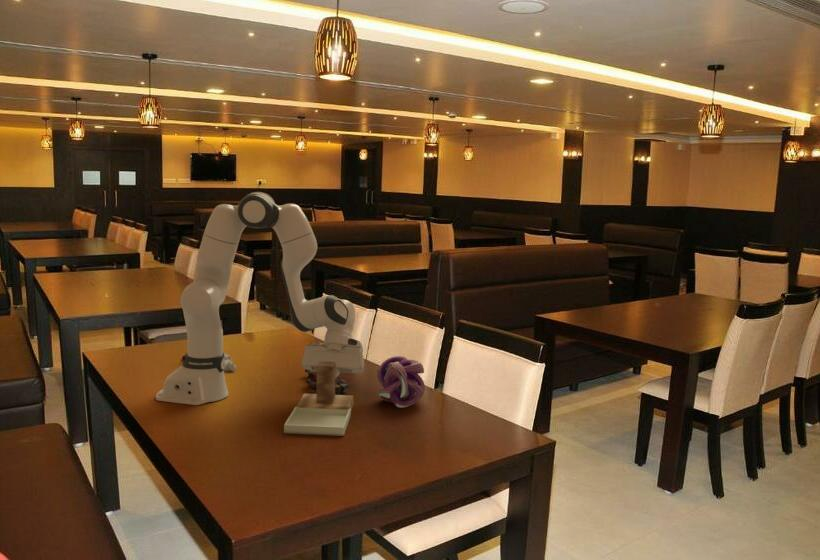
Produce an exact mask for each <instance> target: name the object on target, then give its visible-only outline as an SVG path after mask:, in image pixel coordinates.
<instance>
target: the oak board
mask: <svg viewBox="0 0 820 560" xmlns="http://www.w3.org/2000/svg"><path fill="white" fill-rule="evenodd" d="M316 395H317V393H304V394H303V395H302V397H301V398H300V400H299V401H298V403H297V407H300V408H322V409H344V410H349V409H351V411H352V409H353V406H354V395H347V394H346V395H345V394H340V395H336V394H335V399H334V402H333V404H323V403H316Z"/></svg>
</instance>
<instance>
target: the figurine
mask: <svg viewBox="0 0 820 560" xmlns="http://www.w3.org/2000/svg"><path fill="white" fill-rule="evenodd" d="M304 371H305V373H306V374H307V378H306V384H309V385H310V386H311V387H312V388H314V390H315V391H316V392H317V370H305V369H304ZM337 377H338V378H335V395H341V394H342V393H344V392H346V391H347V390H348V389H349V388H350V386H349V384H348V382H347V381H346V380H344V379H343V378H342V375H341V376H340V375H338V376H337Z"/></svg>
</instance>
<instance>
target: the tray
mask: <svg viewBox="0 0 820 560" xmlns="http://www.w3.org/2000/svg"><path fill="white" fill-rule="evenodd" d="M351 415H352V410H351V409H349V410H344V409H322V408H300V407H298V405H297V406H294V408H293V410H292V411H291V413H290V415H289V416H288V418H287V419H286V421H285V423H284V425H283V434H292V435H295V434H296V435H311V436H312V435H313V436H333V437H335V436H338V437H344V436H345V435H346V434H345V433H346V431H347V427H348V425H349V423H350V420H351Z"/></svg>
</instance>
